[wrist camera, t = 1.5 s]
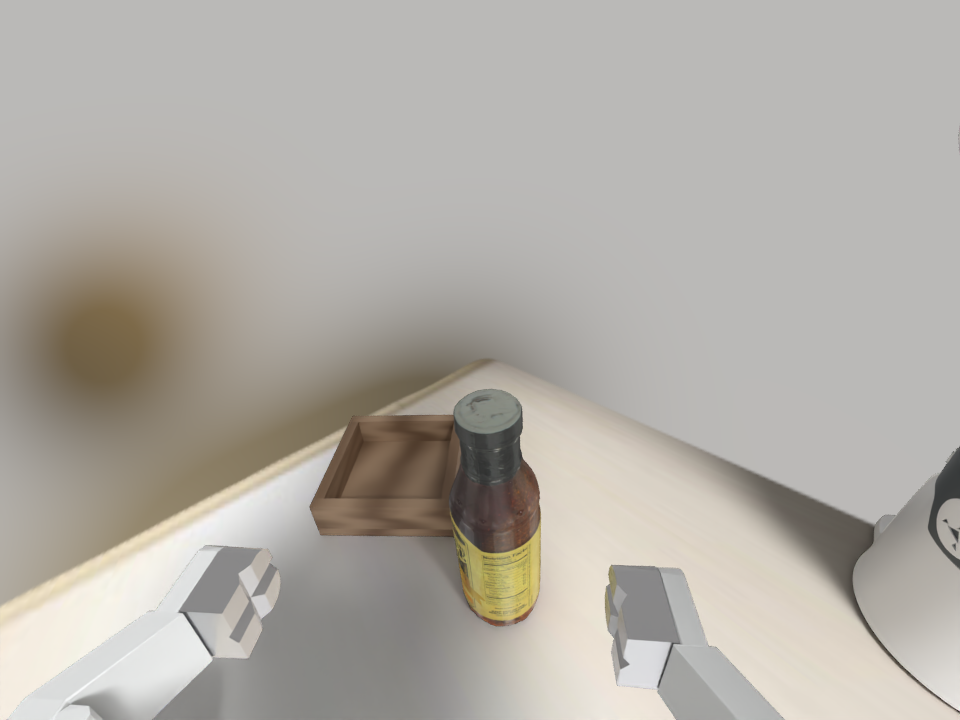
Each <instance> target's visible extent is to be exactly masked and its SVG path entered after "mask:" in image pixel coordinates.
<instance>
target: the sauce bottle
mask: <svg viewBox="0 0 960 720" xmlns="http://www.w3.org/2000/svg"><path fill="white" fill-rule="evenodd" d="M522 422H523V418H522V406H521V404H520V402H519V401H518V400H517V398H515V397H514V396H512V395H511V394H509V393H508V392H505V391H502V390H496V389H484V390H478V391H475V392H473V393H471V394H469V395H467V396H465V397H464V398H463V399H461V400H460V401H459V402H458V403H457V405H456V406H455V409H454V429H455V433H456V434H457V436H458V438H459V441H460V449H461V456H460V466H459V469H458V472H457V475H456V478H455V480H454V483H453V485H452V488H451V491H450V494H449V509H450V515H451V521H452V526H453V532H454V538H455V544H456V551H457V556H458V562H459V568H460V574H461V579H462V585H463V591H464V594H465V597H466V599H467V601H468V604H469V606H470V608H471V610H472V611H474V612H475V613H476V615H477V616H478V617H480V618H481V619H482V620H484V621H486V622H488V623H489V624H491V625H494V626H508V625H512V624H516V623H518V622H520V621H523V620H524V619H526V618H527V616H528V615H529V614H530V612H531V611H532V610H533V607H534V605H535V603H536V600H537V597H538V594H539V589H540V562H541V561H540V550H541V547H540V537H541V511H540V505H539V499H540V496H539V494H540V492H539V486H538V482H537V479H536V477H535V474H534V473H533V471H532V469H531V468H530V467H529V465H528V464H527V463H526V462H525V461H524V460H523V458H522V452H521V450H520V435H521V433H522V429H523V423H522Z"/></svg>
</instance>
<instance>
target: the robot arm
mask: <svg viewBox="0 0 960 720" xmlns="http://www.w3.org/2000/svg"><path fill="white" fill-rule="evenodd" d="M959 152H960V128H959ZM946 463H947V464H946V466H945V467H944V469H943V470H942V472H940V473H937V474H934V475H933V476H931V477H930V478H929V479H928V480H927V481H926V483H925V484H924V485H923V486H922V487H921V488H920V489H919V490H918V491H917V492H916V493H915V495H914V496H913V497H912V498H911V499H910V500H909V501H908V503H907V504H906V505H905V506H904V507H903V508H902V509H901V510H900V512H899V513H898V514H897V515H884V516H882V517H881V519H880V520H879V521H878V522H877V523H876V524H875V527H874V543H873V544H872V546H871V547H870V548H869V549H868V550H867V551H866V552H864V553H863V554H862V555H861V556H860V558H859V559H858V561H857V562H856V565H855V567H854V571H853V588H854V593H855V596H856V600H857V602H858V605H859V607H860V609H861V612H862V614H863V615H864V617H865V619H866V621H867V622H868V624H869V626H870V627H871V629H872V630H873V632H874V633H875V635H876V636H877V637H878V639H879V640H880V641H881V642H882V644H883V645H884V646H885V647H886V648H887V650H888V651H889V652H890V653H891V654H892V655H893V656H894V657H895V659H896V660H897V661H898V662H899V663H900V664H901V665H902V666H903V667H904V668H905V669H906V670H908V671H909V672H910V673H911V674H912V675H913V676H914V677H915V678H916V679H917V680H919V681H920V682H921V683H922V684H923V685H924V686H926V687H927V688H928V689H929V690H931V691H932V692H933V693H934V694H936V695H937V696H938V697H940V698H941V699H942V700H944V701H945V702H947V703H948V704H949V705H951V706H952V707H954V708H955V709H957V710H958V711H960V447H959V448H957V449H956V451H955V452H954V451H953V452H952V454H951V455H950V457H949V458H948V459H947V461H946ZM271 559H272V556H271V554H270V552H269V550H268V549H260V548H244V547H228V546H212V545H205V546H204V547H203V548H201V549H200V550H199V551H198V552H197V553H196V554H195V556H194V557H193V559H192V560H191V561H190V563H189V564H188V566H187V567H186V568H185V570H184V571H183V573H182V574H181V575H180V577H179V578H178V580H177V581H176V582H175V584H174V585H173V587H172V588H171V589H170V591H169V592H168V594H167V595H166V596H165V598H164V599H163V600H162V602H161V603H160V605H159V606H158V607H157V609H156V610H155V611H148V612H147V613H145V614H144V615H142V616H141V617H139V618H138V619H137V620H135V621H134V622H132V623H131V624H129V625H128V626H127V627H125V628H124V629H122V630H121V631H119V632H118V633H117V634H115V635H114V636H112V637H111V638H110V639H108V640H107V641H105V642H104V643H102V644H101V645H100V646H98V647H97V648H95V649H94V650H92V651H91V652H90V653H88V654H87V655H85V656H84V657H82V658H81V659H80V660H78V661H77V662H75V663H74V664H72V665H71V666H70V667H68V668H67V669H65V670H64V671H62V672H61V673H60V674H58V675H57V676H55V677H54V678H52V679H51V680H50V681H48V682H47V683H45V684H44V685H42V686H41V687H40V688H38V689H37V690H35V691H34V692H32V693H31V694H30V695H28V696H27V697H25V698H24V699H23V701H22V702H21V703H20V704H19V705H18V707H17V708H16V709H15V710H14V711H13V713H12V714H11V715H10V716H9V718H8V719H7V720H152V719H153V718H154V717H155V716H156V715H157V714H158V713H159V712H160V711H161V710H162V709H163V708H164V707H165V706H167V705H168V704H169V703H170V702H171V701H172V700H173V699H174V698H175V697H176V696H177V695H178V694H179V693H180V692H181V691H182V690H183V689H184V688H185V687H186V686H187V685H188V684H189V683H190V682H191V681H192V680H193V679H194V678H195V677H196V676H197V675H198V674H199V673H200V672H201V671H202V670H203V669H204V668H205V667H206V666H207V665H208V664H209V663H210V662H211V661H213V658H212V657H214V658H239V659H248V658H249V656H250V654H251V652H252V650H253V648H254V646H255V644H256V642H257V640H258V638H259V636H260V634H261V632H262V630H263V627H262V620H261V619H262V618H263V617H264V616H266V615H267V614H268V613H269V612H270V611H272V609H273V607H274V605H275V603H276V601H277V598H278V595H279V590H280V586H281V581H280V574H279V572H278V569H277V568H275V567H274V566H273V565H271V564H270V561H271ZM608 575H609V581H610V584H609V585H608V586H606V592H605V613H606V622H607V628H608V631H609V633H610V634H611V635H612V636H613V638H614V640H613V645H612V651H611V654H612V660H613V666H614V672H615V678H616V684H617V686H626V687H636V688H646V689H656V690H658V694H659V695H660V697H661V698H662V699H663V701H664V702H665V704H666V705H667V707H668V708H669V710H670V711H671V713H672V714H673V716H674V717H675V719H676V720H785V719H784V718H783V717H782V716H781V715H780V714H779V713H778V712H777V711H776V710H775V709H774V708H773V707H772V706H771V705H770V703H769V702H768V701H767V700H766V699H765V698H764V697H763V696H762V695H761V694H760V693H759V692H758V691H757V690H756V689H755V688H754V686H753V685H752V684H751V683H750V682H749V681H748V680H747V679H746V678H745V677H744V676H743V675H742V674H741V673H740V672H739V671H738V669H737V668H736V667H735V666H734V665H733V664H732V663H731V662H730V661H729V660H728V659H727V658H726V657H725V656H724V655H723V654H722V653H721V651H720V650H719V649H718V648H717V647H713V646H709V645H708V642H707V640H706V637H705V634H704V631H703V628H702V625H701V622H700V619H699V616H698V613H697V610H696V607H695V604H694V601H693V599H692V596H691V593H690V590H689V587H688V584H687V581H686V578H685V575H684V573H683V572H682V570H681V569H679V568H664V567H655V566H624V565H611V566H610V568H609V574H608Z"/></svg>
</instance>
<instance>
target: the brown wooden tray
mask: <svg viewBox="0 0 960 720" xmlns="http://www.w3.org/2000/svg"><path fill="white" fill-rule="evenodd" d="M460 456H461V449H460V441H459V438H458V436H457V434H456V433H455V429H454V415H403V416H352V418H351V420H350V422H349V424H348V427H347V429H346V431H345V433H344V435H343V437H342V439H341V441H340V443H339V446H338V448H337V450H336V452H335V454H334V456H333V458H332V460H331V462H330V465H329V467H328V469H327V471H326V473H325V475H324V477H323V479H322V482H321V484H320V486H319V488H318V490H317V492H316V494H315V496H314V498H313V501H312V503H311V505H310V510H311V512H312V515H313V517H314V520H315V522H316V525H317V527H318V530H319V532H320V535H352V536H453V537H454V532H453V526H452V521H451V515H450V509H449V494H450V491H451V488H452V485H453V483H454V480H455V478H456V475H457V472H458V469H459V466H460Z"/></svg>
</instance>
